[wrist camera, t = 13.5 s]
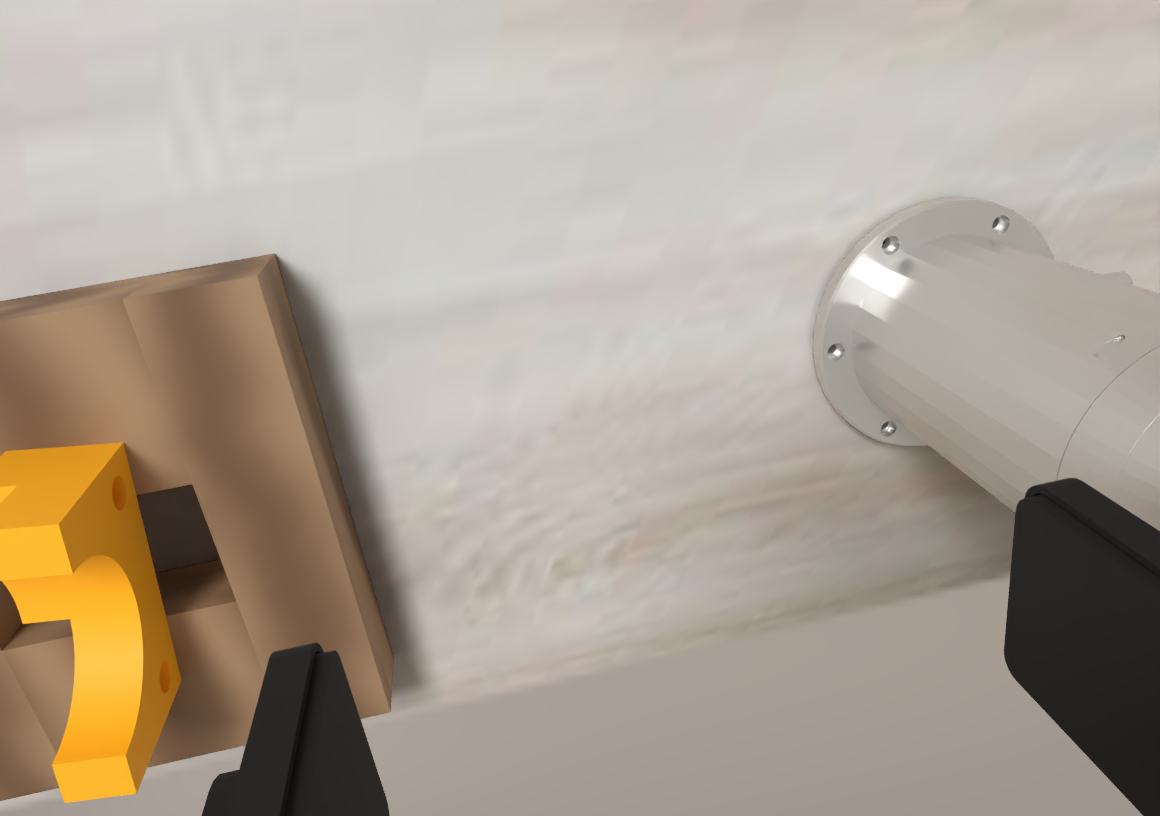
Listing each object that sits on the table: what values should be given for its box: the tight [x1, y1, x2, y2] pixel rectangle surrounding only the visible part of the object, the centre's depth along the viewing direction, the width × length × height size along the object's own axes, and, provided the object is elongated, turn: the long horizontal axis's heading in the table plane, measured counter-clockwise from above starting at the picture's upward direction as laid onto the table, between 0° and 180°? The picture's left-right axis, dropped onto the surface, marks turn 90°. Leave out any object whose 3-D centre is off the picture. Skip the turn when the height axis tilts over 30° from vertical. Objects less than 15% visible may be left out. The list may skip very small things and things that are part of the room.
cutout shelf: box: [0, 254, 394, 801], centre depth 37 cm, size 20×22×4 cm
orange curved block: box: [0, 443, 181, 803], centre depth 33 cm, size 12×4×6 cm, turn 1°
